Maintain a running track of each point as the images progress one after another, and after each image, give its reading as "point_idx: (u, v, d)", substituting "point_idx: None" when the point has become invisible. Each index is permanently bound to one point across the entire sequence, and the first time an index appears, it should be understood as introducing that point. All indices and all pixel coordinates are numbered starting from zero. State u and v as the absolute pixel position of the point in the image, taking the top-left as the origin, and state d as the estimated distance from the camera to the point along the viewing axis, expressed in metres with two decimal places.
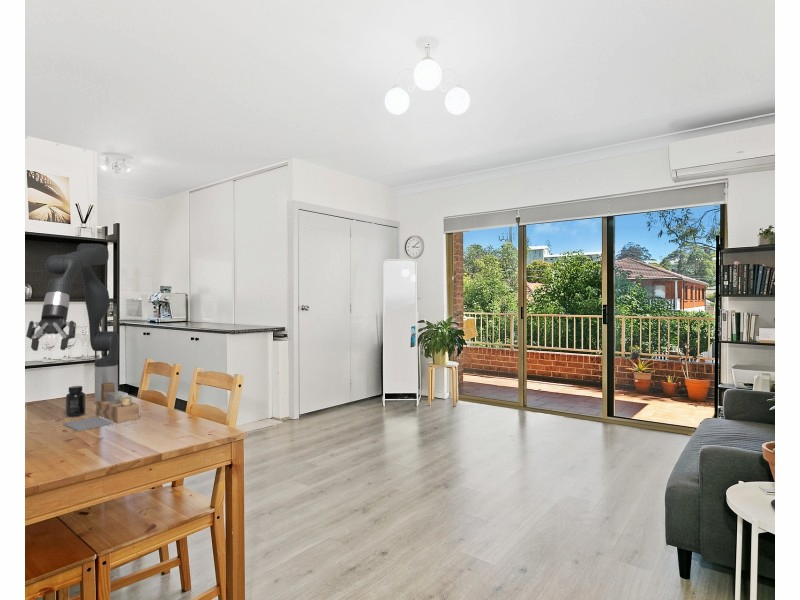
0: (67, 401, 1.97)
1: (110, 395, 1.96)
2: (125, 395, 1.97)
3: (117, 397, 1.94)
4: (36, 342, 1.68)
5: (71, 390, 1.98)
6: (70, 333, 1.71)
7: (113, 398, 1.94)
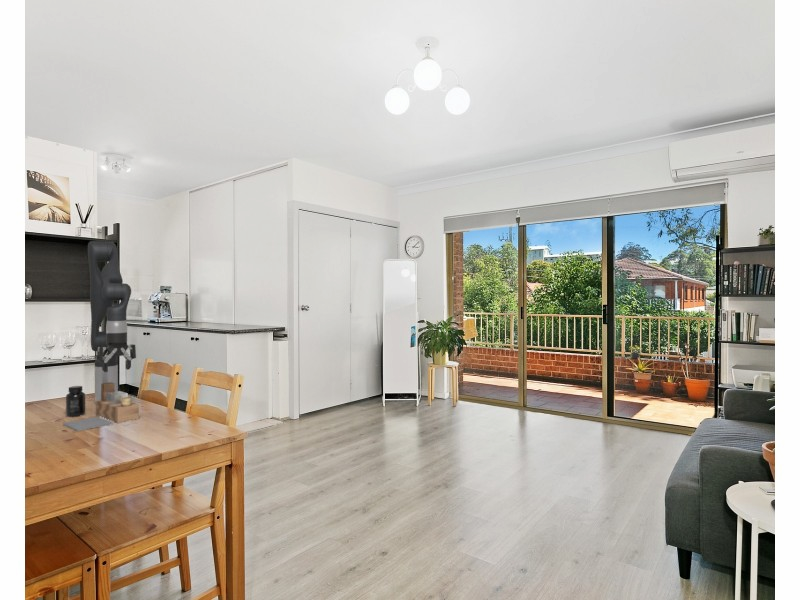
0: (67, 401, 1.97)
1: (110, 395, 1.96)
2: (125, 395, 1.97)
3: (117, 397, 1.94)
4: None
5: (71, 390, 1.98)
6: (134, 355, 2.02)
7: (113, 398, 1.94)
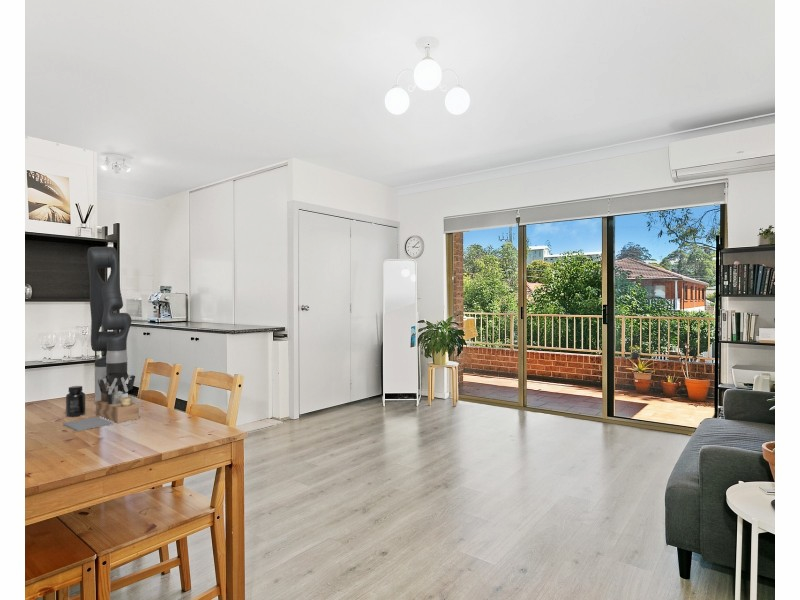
0: (67, 401, 1.97)
1: None
2: (125, 395, 1.97)
3: (117, 397, 1.94)
4: None
5: (71, 390, 1.98)
6: (130, 387, 2.01)
7: (113, 398, 1.94)
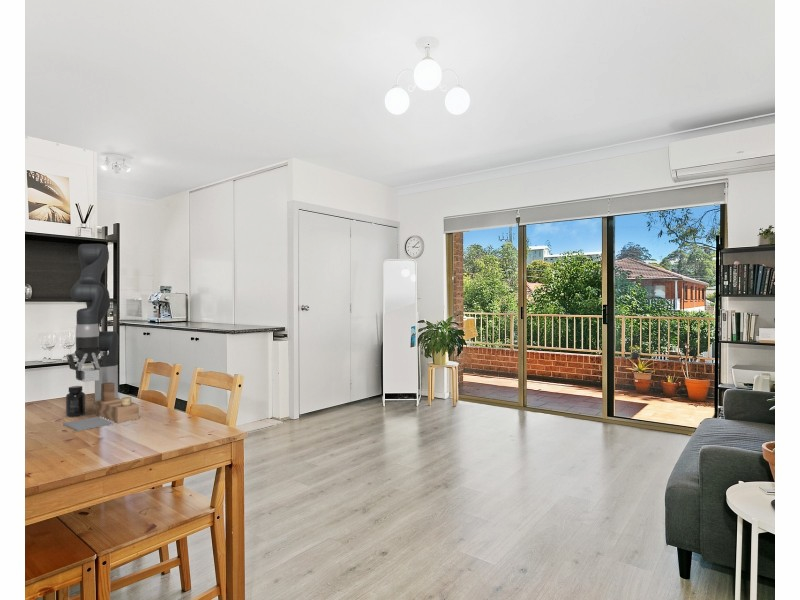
0: (67, 401, 1.97)
1: None
2: (96, 371, 1.85)
3: (87, 374, 1.82)
4: None
5: (71, 390, 1.98)
6: (102, 363, 1.89)
7: (83, 374, 1.83)
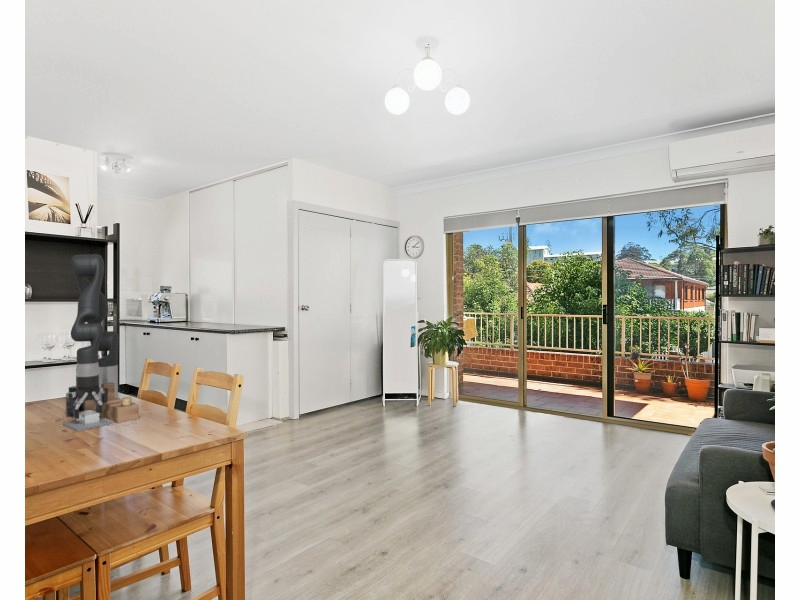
0: None
1: (80, 415, 1.84)
2: (96, 415, 1.85)
3: (87, 417, 1.83)
4: None
5: (71, 390, 1.98)
6: (105, 399, 1.90)
7: (83, 418, 1.83)
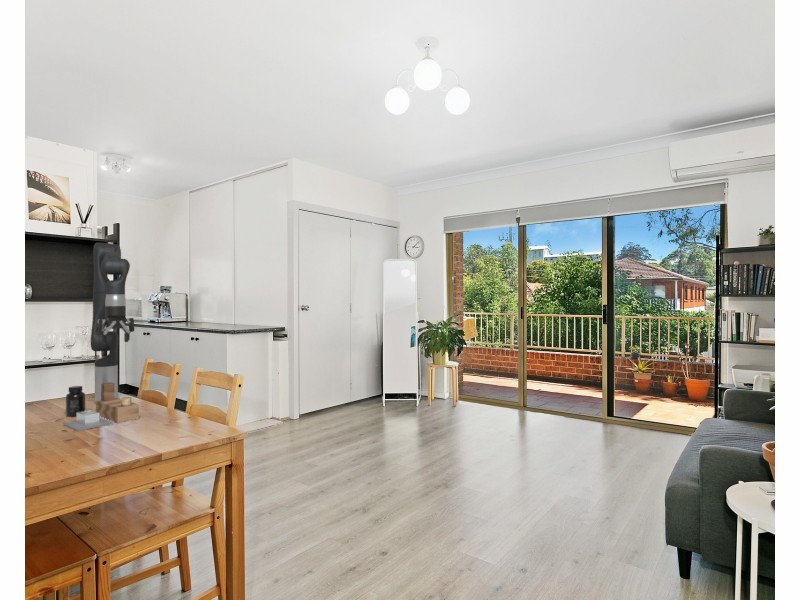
0: (67, 401, 1.97)
1: (80, 415, 1.84)
2: (96, 415, 1.85)
3: (87, 417, 1.83)
4: None
5: (71, 390, 1.98)
6: (132, 328, 2.09)
7: (83, 418, 1.83)
